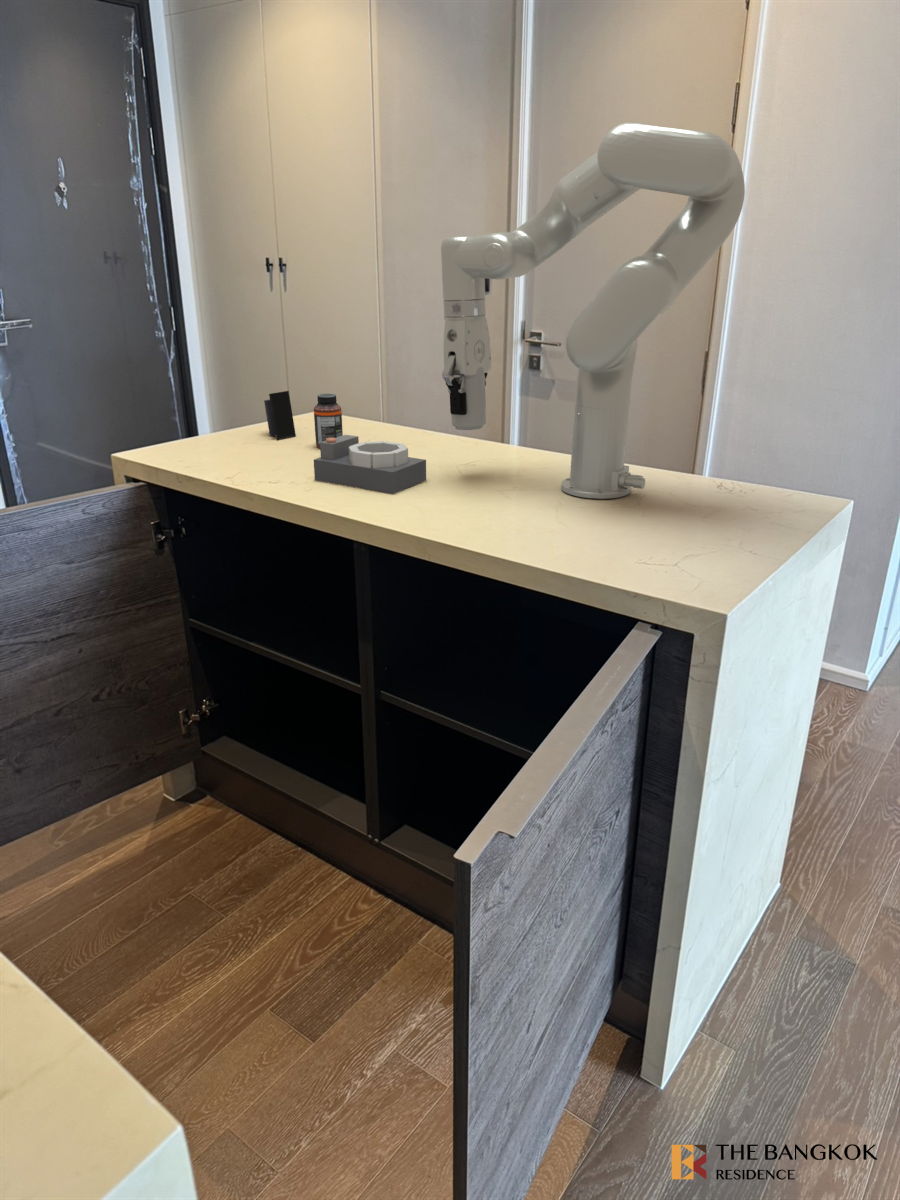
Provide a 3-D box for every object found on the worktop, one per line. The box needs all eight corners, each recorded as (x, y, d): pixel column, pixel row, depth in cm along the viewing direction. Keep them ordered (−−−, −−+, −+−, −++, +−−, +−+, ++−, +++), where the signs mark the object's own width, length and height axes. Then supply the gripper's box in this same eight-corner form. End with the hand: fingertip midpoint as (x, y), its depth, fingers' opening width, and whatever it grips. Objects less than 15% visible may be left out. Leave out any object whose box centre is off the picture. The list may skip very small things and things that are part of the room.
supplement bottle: (320, 443, 192) (317, 392, 187) (346, 444, 191) (344, 392, 187) (312, 449, 186) (309, 396, 182) (339, 450, 186) (336, 397, 181)
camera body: (426, 480, 163) (425, 440, 160) (393, 494, 155) (392, 452, 152) (350, 468, 172) (348, 429, 169) (314, 480, 163) (312, 440, 160)
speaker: (301, 436, 197) (294, 390, 194) (277, 440, 195) (270, 393, 191) (290, 433, 204) (283, 389, 200) (267, 437, 201) (259, 392, 198)
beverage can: (486, 430, 159) (484, 363, 155) (451, 431, 160) (448, 364, 155) (485, 424, 165) (483, 359, 161) (452, 425, 165) (449, 361, 161)
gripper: (458, 313, 146) (462, 420, 153) (505, 306, 160) (507, 404, 166) (421, 314, 150) (426, 418, 156) (470, 307, 163) (473, 403, 170)
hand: (468, 410), depth 161 cm, fingers closed on beverage can, 6 cm apart
